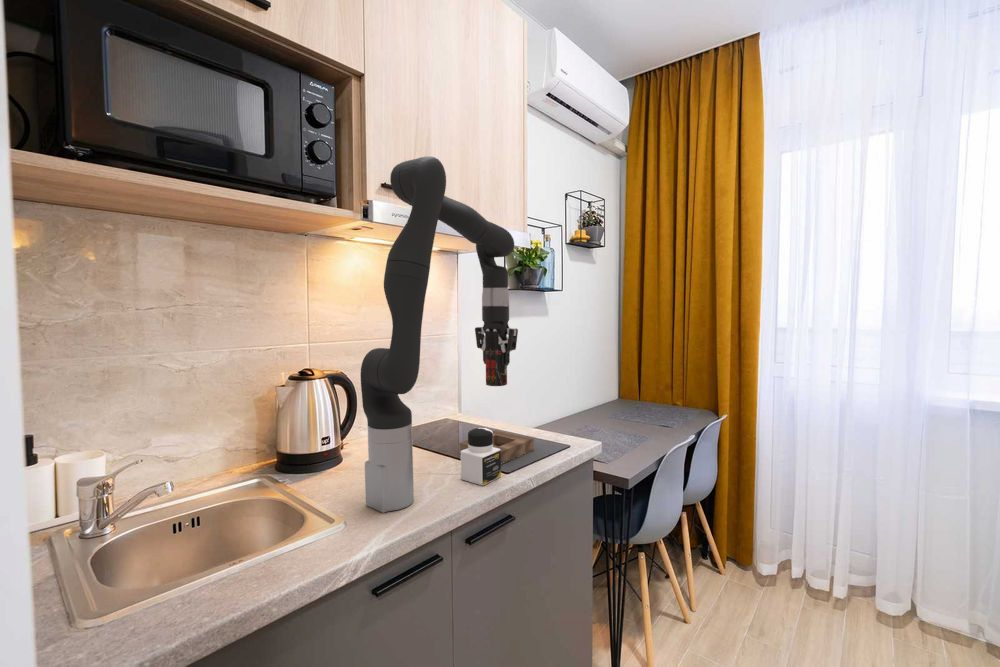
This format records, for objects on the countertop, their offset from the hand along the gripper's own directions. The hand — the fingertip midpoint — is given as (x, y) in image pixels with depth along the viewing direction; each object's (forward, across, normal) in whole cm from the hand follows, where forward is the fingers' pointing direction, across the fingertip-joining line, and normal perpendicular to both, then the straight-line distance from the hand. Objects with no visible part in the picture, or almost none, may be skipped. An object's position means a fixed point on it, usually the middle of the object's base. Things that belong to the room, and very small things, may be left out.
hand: (496, 364), depth 131 cm
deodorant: (+6, 0, 0) cm, 6 cm away
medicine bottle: (+25, +9, -17) cm, 32 cm away
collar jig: (+25, 0, 0) cm, 25 cm away
